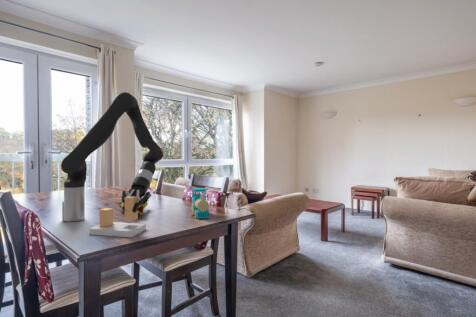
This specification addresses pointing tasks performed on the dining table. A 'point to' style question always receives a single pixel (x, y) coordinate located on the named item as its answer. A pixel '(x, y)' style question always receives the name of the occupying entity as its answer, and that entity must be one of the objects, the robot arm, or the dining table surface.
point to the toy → (138, 208)
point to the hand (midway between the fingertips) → (128, 211)
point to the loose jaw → (130, 208)
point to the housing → (118, 229)
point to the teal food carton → (200, 204)
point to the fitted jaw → (106, 217)
